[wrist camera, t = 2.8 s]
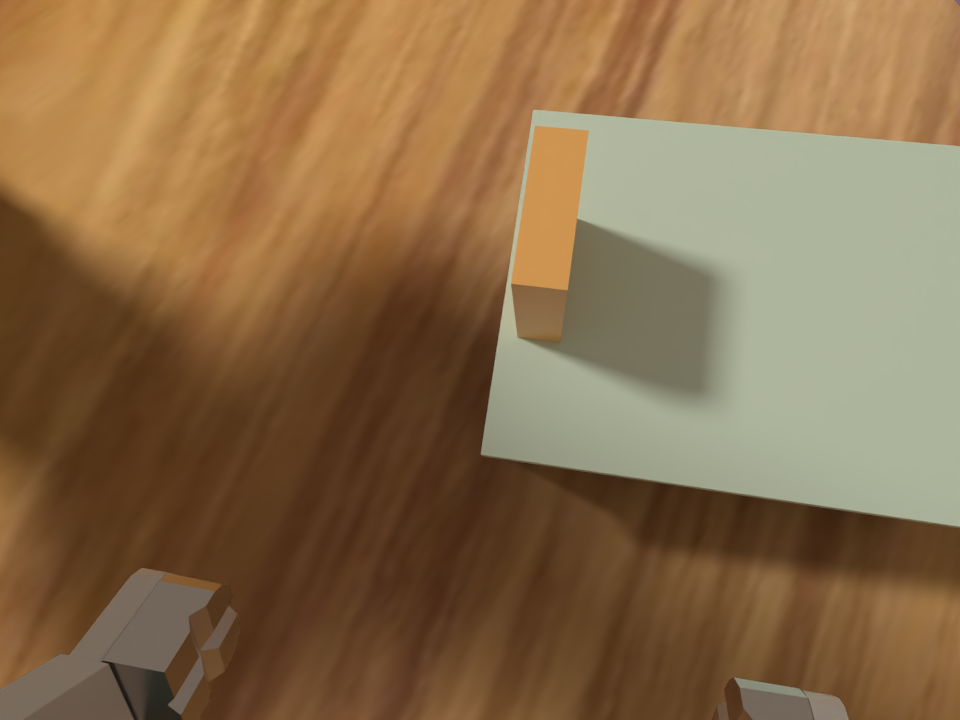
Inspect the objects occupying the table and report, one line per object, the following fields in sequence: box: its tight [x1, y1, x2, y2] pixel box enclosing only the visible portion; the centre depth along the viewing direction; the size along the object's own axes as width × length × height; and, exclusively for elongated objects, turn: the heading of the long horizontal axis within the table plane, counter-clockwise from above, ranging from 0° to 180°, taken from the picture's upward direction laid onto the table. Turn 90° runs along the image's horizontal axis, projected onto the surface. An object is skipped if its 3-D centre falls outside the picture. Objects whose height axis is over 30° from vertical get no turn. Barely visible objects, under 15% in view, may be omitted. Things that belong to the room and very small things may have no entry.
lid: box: [481, 110, 960, 528], centre depth 22 cm, size 19×14×8 cm
